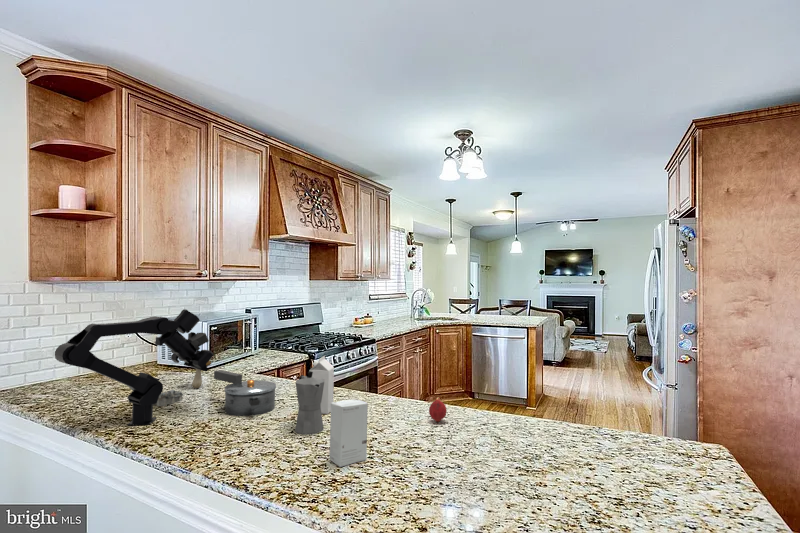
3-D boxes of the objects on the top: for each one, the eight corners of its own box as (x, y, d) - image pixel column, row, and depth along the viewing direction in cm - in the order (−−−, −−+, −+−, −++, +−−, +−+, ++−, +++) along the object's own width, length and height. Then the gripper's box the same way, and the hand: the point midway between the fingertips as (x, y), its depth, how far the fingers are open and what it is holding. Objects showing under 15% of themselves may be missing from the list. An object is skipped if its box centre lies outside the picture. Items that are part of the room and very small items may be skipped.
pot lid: (286, 387, 159) (286, 376, 160) (244, 398, 145) (244, 385, 145) (236, 376, 176) (236, 367, 177) (195, 385, 162) (195, 374, 162)
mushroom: (197, 392, 179) (198, 355, 180) (179, 388, 185) (180, 353, 185) (215, 387, 187) (216, 352, 188) (198, 384, 193) (198, 350, 193)
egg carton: (160, 408, 158) (160, 396, 158) (146, 405, 161) (147, 394, 162) (186, 400, 168) (186, 389, 168) (172, 398, 171) (173, 387, 171)
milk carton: (333, 408, 158) (334, 356, 159) (328, 414, 151) (329, 359, 152) (314, 407, 159) (315, 355, 159) (308, 413, 152) (309, 358, 152)
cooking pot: (280, 415, 149) (280, 395, 150) (227, 422, 142) (227, 400, 142) (269, 397, 172) (269, 379, 172) (222, 402, 165) (223, 383, 165)
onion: (445, 425, 140) (445, 400, 141) (427, 424, 142) (428, 399, 142) (447, 420, 146) (447, 396, 146) (430, 418, 147) (430, 394, 148)
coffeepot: (332, 433, 133) (333, 373, 133) (302, 439, 127) (303, 377, 128) (312, 419, 146) (313, 365, 146) (285, 424, 140) (286, 368, 141)
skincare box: (339, 468, 108) (340, 407, 108) (328, 459, 113) (329, 402, 113) (368, 459, 113) (368, 402, 114) (356, 452, 118) (356, 397, 118)
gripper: (208, 327, 150) (236, 355, 159) (180, 324, 161) (207, 350, 170) (186, 353, 144) (216, 381, 152) (157, 348, 154) (187, 374, 163)
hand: (206, 370), depth 159 cm, fingers closed
